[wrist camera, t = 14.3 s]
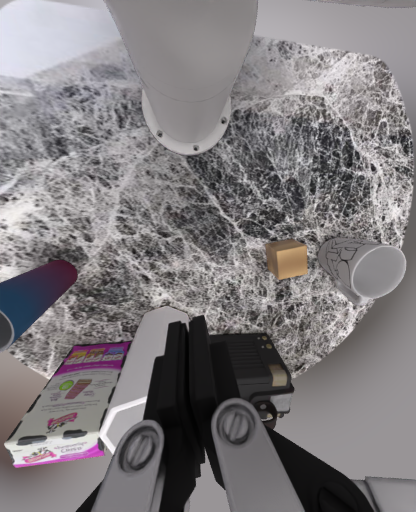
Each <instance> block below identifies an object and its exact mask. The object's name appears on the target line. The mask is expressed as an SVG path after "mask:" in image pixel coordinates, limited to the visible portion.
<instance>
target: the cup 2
mask: <svg viewBox="0 0 416 512" xmlns="http://www.w3.org/2000/svg"><path fill="white" fill-rule="evenodd" d="M176 321H181V322H182V323H186V325H187V329H188V332H189V322H190V319H189V317H188V314H187V313H185V312H182V311H180V310H177V309H174V308H172V307H169V306H164V307H161V308H158V309H155V310H152V311H149V312H146V313H145V314H144V316H143V318H142V320H141V322H140V325H139V327H138V329H137V331H136V334H135V337H134V339H133V342H132V345H131V348H130V350H129V353H128V356H127V358H126V361H125V364H124V367H123V369H122V372H121V375H120V378H119V380H118V383H117V386H116V388H115V391H114V394H113V397H112V399H111V402H110V405H109V408H108V410H107V413H106V416H105V418H104V421H103V424H102V427H101V429H100V432H99V437H100V438H101V439H102V441H103V442H104V443H105V445H106V446H107V447H108V448H109V450H110V451H111V452H112V454H114V452H115V449H116V447H117V445H118V443H119V441H120V439H121V438H122V437H123V435H124V434H125V433H126V431H128V430H129V429H130V428H131V427H132V426H133V425H135V424H137V423H138V422H140V421H142V420H143V415H144V410H145V405H146V400H147V395H148V390H149V385H150V380H151V375H152V369H153V364H154V360H155V358H156V357H157V356H162V355H164V352H165V345H166V338H167V331H168V324H169V323H172V322H176Z"/></svg>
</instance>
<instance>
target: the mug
mask: <svg viewBox="0 0 416 512" xmlns="http://www.w3.org/2000/svg"><path fill="white" fill-rule="evenodd" d="M318 260H319V263H320V264H321V266H322V267H323V268H324V269H325V270H326V271H327V272H328V273H330V274H331V275H332V276H333V277H334V278H335V284H336V287H337V289H338V290H339V291H340V292H341V293H342V294H344V295H345V296H346V297H347V298H348V299H349V300H350V301H351V302H352V303H354V304H355V305H364V304H366V303H368V301H369V299H370V298H378V297H381V296H384V295H386V294H388V293H389V292H391V291H392V290H393V289H394V288H395V287H396V286H397V285H398V284H399V283H400V281H401V279H402V278H403V276H404V273H405V270H406V259H405V256H404V254H403V253H402V251H401V250H399V249H398V248H396V247H394V246H392V245H388V244H383V243H378V242H373V241H368V240H362V239H350V238H333V239H330V240H328V241H327V242H325V243H324V244H323V245H322V247H321V248H320V250H319V253H318ZM352 291H353V292H352ZM356 294H357V295H358V296H357V295H356Z"/></svg>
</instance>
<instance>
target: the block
mask: <svg viewBox="0 0 416 512" xmlns="http://www.w3.org/2000/svg"><path fill="white" fill-rule="evenodd" d="M265 245H266V255H267V265H268V270H269V271H271V272H272V273H273V274H274V275H275V276H276V277H277V278H278V279H279V280H280V279H285V278H289V277H294V276H299V275H303V274H308V270H307V246H306V245H304V244H302V243H300V242H298V241H295V240H293V239H288V240H283V241H278V242H274V243H269V244H265Z"/></svg>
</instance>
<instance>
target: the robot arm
mask: <svg viewBox="0 0 416 512" xmlns="http://www.w3.org/2000/svg"><path fill="white" fill-rule="evenodd" d="M310 1H319V2H328V3H338V4H348V5H356V6H374V7H384V8H409V7H416V0H310ZM104 2H105V4H106V5H107V7H108V9H109V11H110V13H111V15H112V17H113V19H114V21H115V24H116V26H117V28H118V30H119V32H120V35H121V37H122V39H123V41H124V44H125V46H126V48H127V51H128V53H129V56H130V58H131V60H132V63H133V65H134V68H135V70H136V72H137V75H138V77H139V79H140V82H141V84H142V86H143V88H142V94H141V95H142V110H143V115H144V118H145V121H146V123H147V126H148V127H149V129H150V131H151V133H152V134H153V136H154V137H155V138H156V139H157V141H158V142H159V143H160V144H161V145H163V146H164V147H165V148H167V149H168V150H170V151H172V152H174V153H177V154H180V155H188V156H192V155H199V154H201V153H204V152H206V151H208V150H209V149H211V148H212V147H214V146H215V145H216V144H217V143H218V142H219V140H220V139H221V138H222V136H223V134H224V133H225V131H226V129H227V126H228V124H229V120H230V115H231V96H230V93H231V91H232V88H233V86H234V84H235V81H236V79H237V77H238V75H239V72H240V70H241V68H242V65H243V63H244V60H245V58H246V56H247V53H248V51H249V48H250V45H251V42H252V38H253V34H254V30H255V24H256V17H257V8H258V0H104ZM221 121H224V124H222V123H221ZM159 134H162V137H159ZM195 147H196V148H197V151H195V150H194V148H195ZM192 320H193V321H190V322H189V332H188V329H187V325H186V323H182V322H181V321H176V322H172V323H169V324H168V331H167V338H166V345H165V352H164V355H162V356H157V357H156V358H155V360H154V364H153V369H152V375H151V380H150V385H149V390H148V395H147V400H146V405H145V410H144V415H143V420H142V421H140V422H138V423H137V424H135V425H133V426H132V427H131V428H130V429H129V430H128V431H126V433H125V434H124V435H123V437H122V438H121V439H120V441H119V443H118V445H117V447H116V449H115V452H114V454H113V457H112V459H111V462H110V464H109V467H108V470H107V472H106V475H105V477H104V479H103V481H102V482H101V483H100V484H99V485H98V486H97V488H96V489H95V490H94V491H93V492H92V493H91V495H90V496H89V497H88V498H87V499H86V500H85V501H84V503H83V504H82V505H81V506H80V507H79V508H78V509H77V511H76V512H189V507H190V501H189V497H190V495H191V493H192V492H193V490H194V488H195V486H196V478H198V477H200V476H201V472H200V464H203V463H205V450H206V453H207V456H208V459H209V462H210V465H211V468H212V471H213V474H214V477H215V480H216V482H217V483H218V484H219V485H220V486H222V488H224V489H225V490H226V494H227V498H228V502H229V507H230V511H231V512H416V480H412V479H396V478H382V477H365V480H352V479H349V478H347V477H346V476H345V475H344V474H342V473H341V472H339V471H337V470H336V469H334V468H333V467H331V466H330V465H328V464H326V463H325V462H323V461H322V460H320V459H318V458H317V457H315V456H314V455H312V454H311V453H309V452H307V451H306V450H304V449H303V448H301V447H299V446H298V445H296V444H295V443H293V442H292V441H290V440H288V439H287V438H285V437H284V436H282V435H280V434H279V433H277V432H276V431H274V430H273V429H271V428H269V427H268V426H266V425H265V424H263V422H262V420H261V418H260V416H259V414H258V412H257V411H256V409H255V408H254V406H253V405H252V404H250V403H249V402H248V401H246V400H243V399H241V396H240V392H239V388H238V384H237V381H236V377H235V373H234V369H233V365H232V361H231V357H230V354H229V350H228V346H227V342H226V340H224V341H220V342H215V343H211V341H210V337H209V333H208V329H207V325H206V321H205V317H204V315H201V316H197V317H193V318H192Z"/></svg>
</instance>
